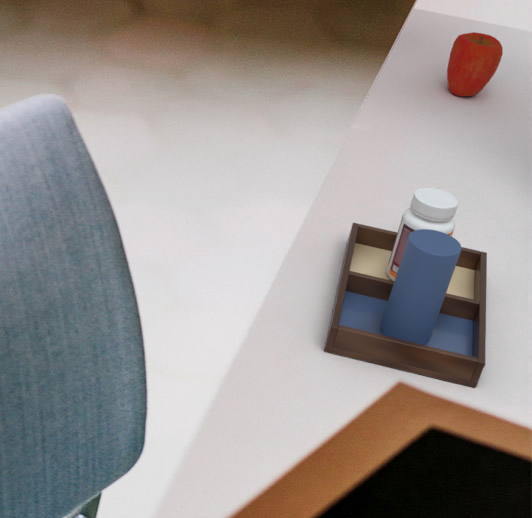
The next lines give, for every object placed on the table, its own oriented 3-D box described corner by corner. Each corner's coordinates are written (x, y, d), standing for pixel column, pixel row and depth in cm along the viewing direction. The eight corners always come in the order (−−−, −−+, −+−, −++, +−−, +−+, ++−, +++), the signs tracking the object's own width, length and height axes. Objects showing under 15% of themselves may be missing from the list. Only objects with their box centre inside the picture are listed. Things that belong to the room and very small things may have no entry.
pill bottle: (442, 292, 111) (470, 211, 106) (393, 289, 110) (419, 208, 105) (426, 265, 115) (453, 186, 109) (379, 263, 114) (403, 183, 109)
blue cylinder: (431, 325, 106) (462, 236, 100) (428, 351, 103) (461, 260, 97) (382, 313, 107) (410, 224, 101) (378, 338, 103) (407, 248, 98)
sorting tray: (478, 275, 116) (487, 252, 114) (475, 388, 100) (485, 363, 99) (346, 245, 118) (353, 222, 116) (323, 351, 102) (331, 326, 101)
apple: (483, 108, 150) (503, 49, 145) (435, 95, 151) (453, 37, 147) (490, 91, 154) (510, 34, 150) (443, 79, 156) (461, 22, 151)
